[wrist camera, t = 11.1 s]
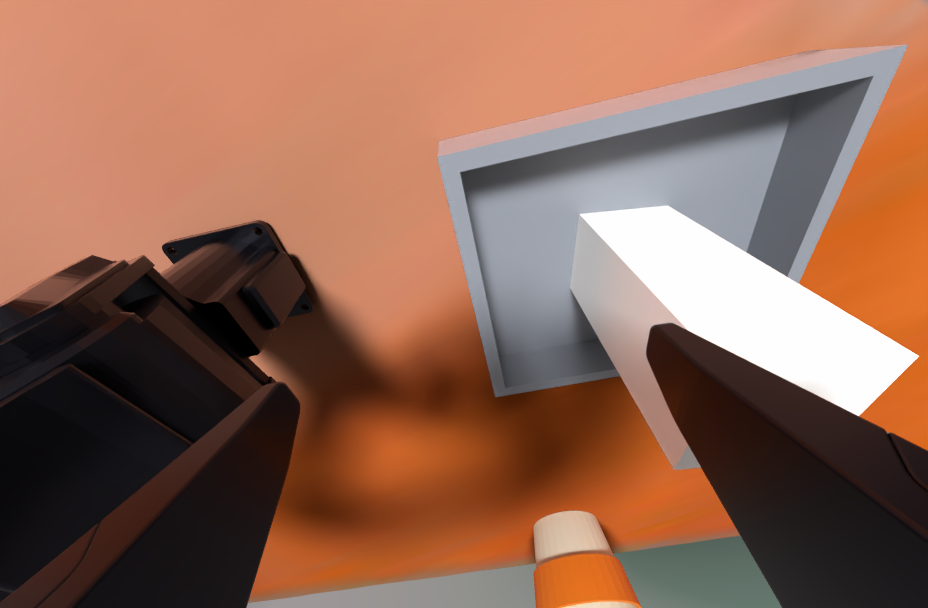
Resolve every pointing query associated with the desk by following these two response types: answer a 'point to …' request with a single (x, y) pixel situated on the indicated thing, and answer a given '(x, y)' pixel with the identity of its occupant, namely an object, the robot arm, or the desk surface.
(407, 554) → the desk surface
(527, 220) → the tray
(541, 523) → the reusable coffee cup
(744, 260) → the cream block
